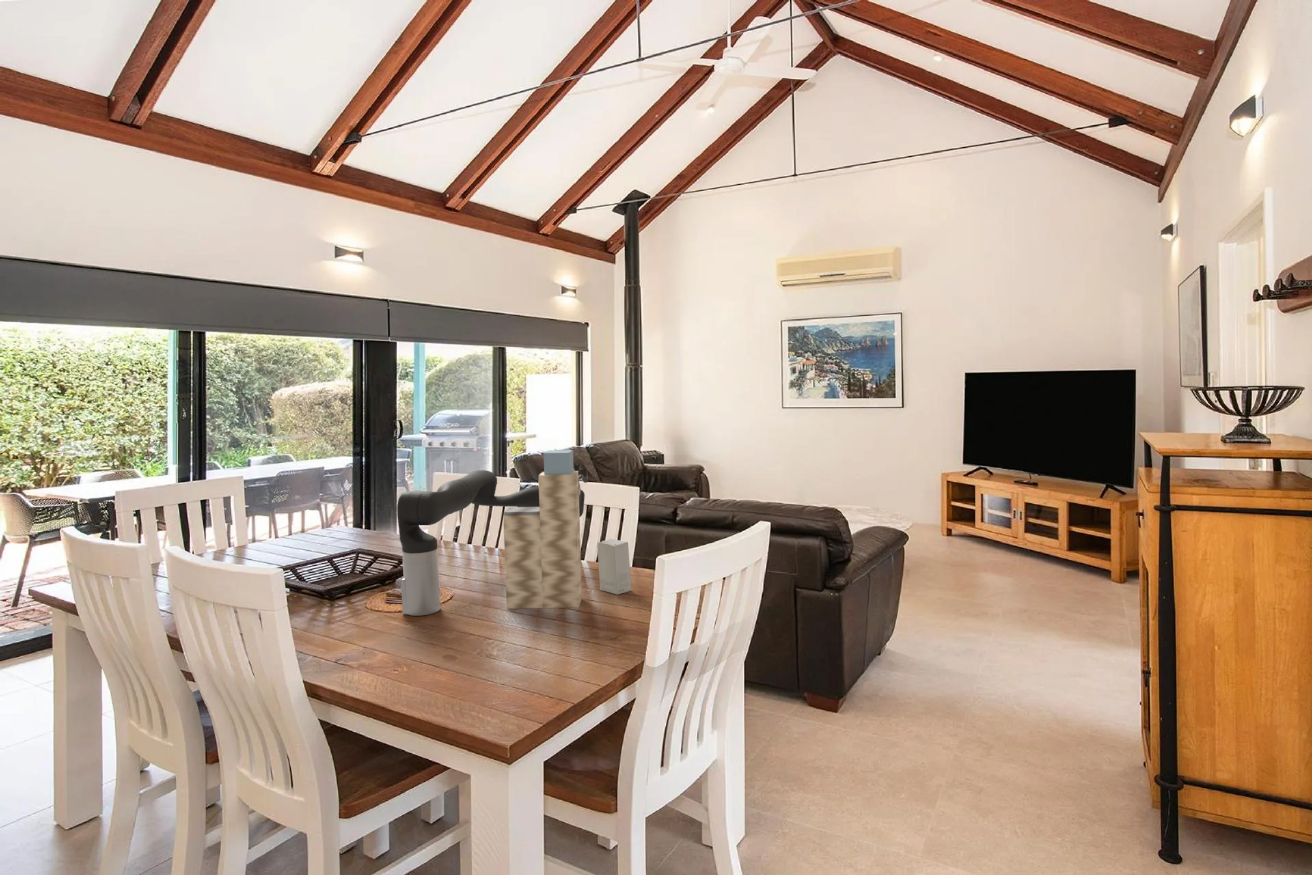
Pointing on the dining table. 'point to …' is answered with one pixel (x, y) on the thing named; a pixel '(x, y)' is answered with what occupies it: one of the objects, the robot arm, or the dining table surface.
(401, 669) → the dining table surface
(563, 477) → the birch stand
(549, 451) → the blue handle block
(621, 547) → the skincare box
